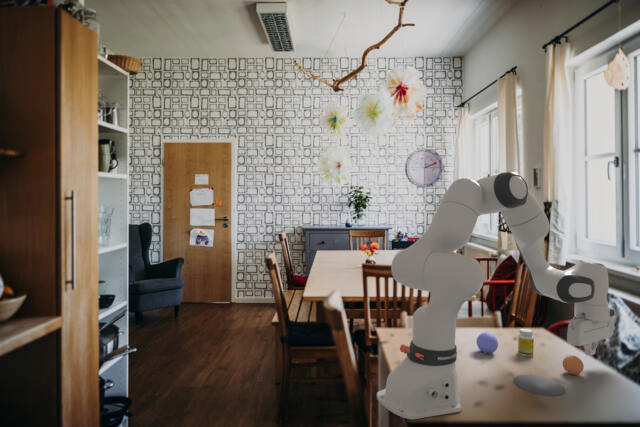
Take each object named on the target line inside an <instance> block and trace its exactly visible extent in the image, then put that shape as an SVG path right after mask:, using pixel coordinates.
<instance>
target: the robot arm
mask: <svg viewBox="0 0 640 427" xmlns="http://www.w3.org/2000/svg"><path fill="white" fill-rule="evenodd" d="M496 213H500V214H501V215H502V218H503V219H504V221H505V224H506V225H507V227H508V228H509V231H510V232H511V234H512V236H513V238H514V239H513V240H514V243H515V245H516V247H517V250H518V251H519V254H520V257H522V260H523V263H524V265H525V266H526V270H527V271H528V276H529V283H530V287H531V288H532V291H534V292H535V293H536V294H538V295H540V296H544V297H546V298H547V297H548V298H551V299H553V300H556V301H560V302H562V303H566V304H574V311H573V312H574V313H573V314H574V315H573V318H572V319H570V320H569V322H568V325H567V334H566V341H567V342H568V344H569V345H573V346H576V347H581V346H583V349H584V355H586V356H588V357H589V356H590V357H591V356H593V355H596V352H597V351H596V349H597V347H598V345H599V341H601V340H604V339H609V338H611V337H612V336H613V334H614V330H615V318H614V317H615V316H616V309H614V308H612V307H609V301H608V293H609V291H610V290H609V286H610V285H609V284H610V283H609V281H610V280H609V273H608V272H609V271H608V269H607V267H606V266H605V265H604V264H602V263H599V262H596V261H595V262H594V261H590V260H586V259H585V260H583V259H582V260H578V261H577V262H576V263H575V265H573V266H571V267H569V268H568V269H565V270H560V269H557V268H555V267H553V266H552V265H550V264H549V263H548V262H547V260H546V258H545V256H544V253H543V252H542V249H541V247H540V244H539V242H541V241H542V240H543V239H545V238H546V236H547V235H548V234H549V232H550V229H551V226H550V225H551V224H550V222H549V219H548V216H547V215H546V212H545V211H544V209H543V208H542V206H541V204H540V203H539V201H538V199H537V198H536V197H535V196H534V195H533V193H532V192H531V191H530V190H529V188H528V184H527V181H526V180H525V179H524V177H523V176H522V175H520V174H518V173H517V172H515V171H506V172H505V171H504V172H500V173H498V174H495V175H490V176H487V177H483V178H480V179H477V180H474V179H471V178H466V177H465V178H464V177H463V178H458V179H456V180H455V181H453V182H452V183H451V184H450V186H449V187H448V188H447V190H446V192H445V193H444V195H443V197H442V199H441V201H440V202H439V205H438V208H437V210H436V212H435V214H434V216H433V219H432V221H431V223H430V225H429V226H428V228H427V230H426V231H425V232H424V234H422V235H421V236H420V238H418V239H417V240H416V241H415V242H414V243H413V244H411V245H410V246H408V247H406V248H405V249H402V250H400V251H397V253H396V254H395V255H394V257H393V259H392V261H391V275H392V277H393V279H394V280H395V281H396V283H399V284H401V285H403V286H404V287H407V288H409V289H412V290H413V289H414V290H419V291H424V292H429V293H430V296H429V297H430V298H429V302H428V303H426V304H424V305H422V306H419V307H418V308H417V309H416V310H415V311H414V313H413V314H412V336H411V337H412V340H410V343H409V346H408V345H405V344H401V345H400V346H399V351H400V352H401V353H404V354H406V357H405V358H404V359H403V360H402V361H401V362H400V363H399V364H398V365H397V366H395V368H394V369H392V370H391V372H389V374H388V375H387V378H386V384H385V388H384V389H381V390H379V391H377V392H376V399H377V401H378V402H379V403H380V404H381V405H382V406H383V407H384V408H385V409H387V410H388V411H390V412H391V413H393V414H394V415H396V416H399V417H400V418H403V419H407V420H418V419H419V420H420V419H424V418H430V417H436V416H441V415H448V414H454V413H460V412H461V411H462V404H461V400H462V398H461V395H460V391H459V385H458V384H459V383H458V375H457V370H456V361H457V356H458V351H457V349H458V348H457V345H456V332H457V331H456V329H457V320H458V316H459V313H460V310H461V309H462V307H463V305H465V303H466V302H467V301H468V300H469V299H471V298H473V297H475V295H477V294H478V293H479V292H480V290H481V289H482V287H483V285H484V281H485V274H484V270H483V267H482V265H481V263H480V262H479V261H478V260H477V259H476V258H473V257H469V256H467V255H463V254H460V253H453V252H455V251H456V250H460V249H462V248H464V247H465V246H466V245H467V244H469V242H470V241H471V237H472V235H473V232H474V228H475V227H476V224H477V221H478V218H479V217H480V216H482V215H491V214H496Z"/></svg>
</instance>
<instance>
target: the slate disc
mask: <svg viewBox="0 0 640 427" xmlns="http://www.w3.org/2000/svg"><path fill="white" fill-rule="evenodd" d="M512 381H513V383H514V385H515V386H516V387H518V388H519V389H521V390H523V391H526V392H528V393H530V394H535V395H539V396H545V397H558V396H563V395H564V394H565V393H566V390H565V387H564V386H563V385H562V384H561V383H559V382H557V381H555V380H553V379H550V378H547V377H544V376H540V375H534V374H519V375H517V376H515V377H513V379H512Z"/></svg>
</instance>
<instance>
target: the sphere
mask: <svg viewBox="0 0 640 427" xmlns="http://www.w3.org/2000/svg"><path fill="white" fill-rule="evenodd" d="M475 343H476V346H477V347H478V350H480V351H481V353H485V354H492V353H493V354H494V353H495V352H496V351H497V350H498V348H499V342H498V338H497V337H496V336H495V335H494V334H492V333H491V332H482V333H480V334H479V335H478V336H477V338H476V342H475Z"/></svg>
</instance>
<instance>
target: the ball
mask: <svg viewBox="0 0 640 427" xmlns="http://www.w3.org/2000/svg"><path fill="white" fill-rule="evenodd" d="M584 365H585V364H584V362H583V361H582V360H581V358H579V357H578V356H575V355H566V356H565V357H564V358H563V360H562V366H563V369H564V371H565V372H567V373H568V374H571V375H574V376H575V375H576V376H577V375H579V374H581V373H582V372H583V371H584V367H585V366H584Z"/></svg>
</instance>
